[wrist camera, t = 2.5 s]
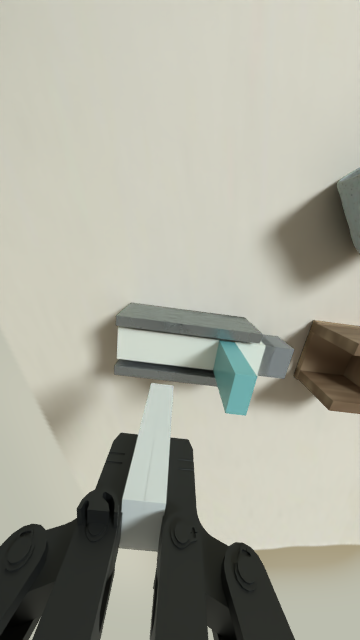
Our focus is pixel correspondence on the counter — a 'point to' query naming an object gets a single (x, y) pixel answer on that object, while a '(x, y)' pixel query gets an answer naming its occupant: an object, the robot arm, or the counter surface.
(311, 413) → the counter surface
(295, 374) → the socket
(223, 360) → the rod
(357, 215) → the ceramic mug
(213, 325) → the channel
